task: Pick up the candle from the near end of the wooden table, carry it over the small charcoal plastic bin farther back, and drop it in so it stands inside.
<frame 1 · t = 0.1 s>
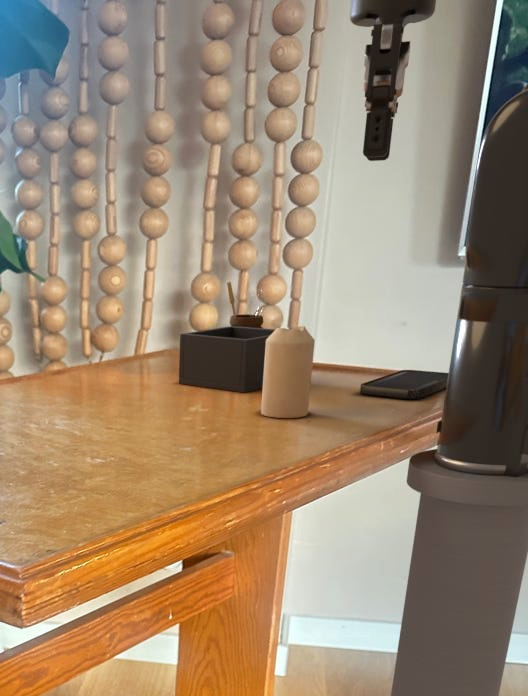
hand: (376, 158, 91), 27 cm above the table, tool pointing down, fingers open, 8 cm apart
bin: (236, 382, 131), on the table
utensil holder: (243, 363, 148), on the table
candle: (284, 415, 110), on the table
phone: (409, 389, 123), on the table
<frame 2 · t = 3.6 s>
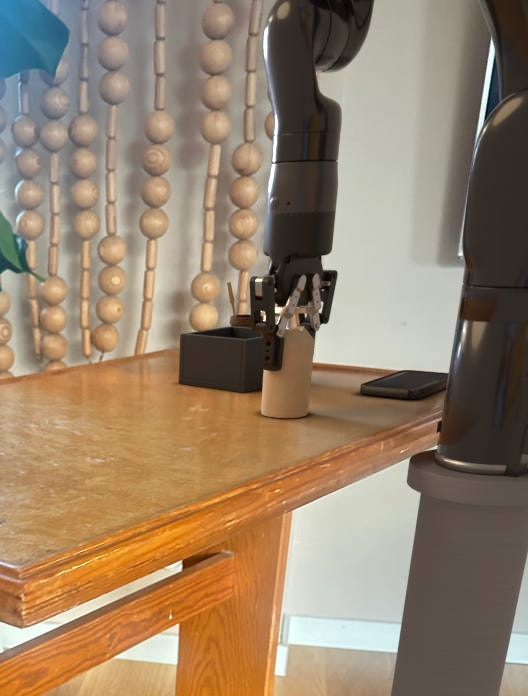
hand: (287, 366, 108), 6 cm above the table, tool pointing down, fingers closed on candle, 5 cm apart
candle: (284, 415, 110), on the table, touching gripper
everything else where it was.
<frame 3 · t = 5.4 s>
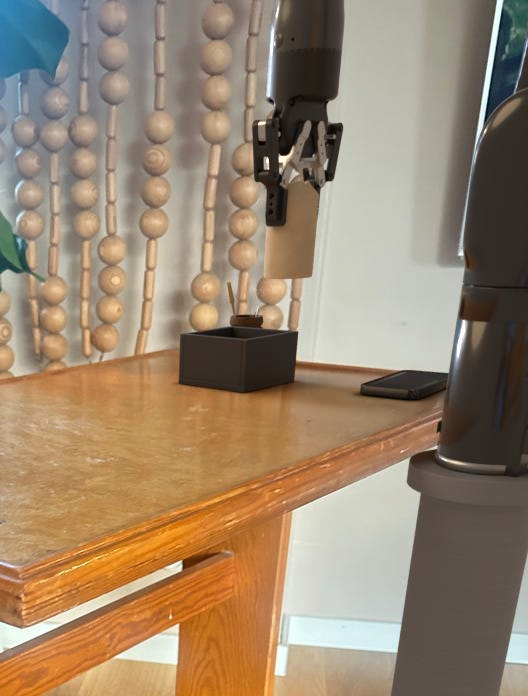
hand: (291, 225, 104), 21 cm above the table, tool pointing down, fingers closed on candle, 5 cm apart
candle: (287, 279, 106), point 15 cm above the table, touching gripper
everything else where it was.
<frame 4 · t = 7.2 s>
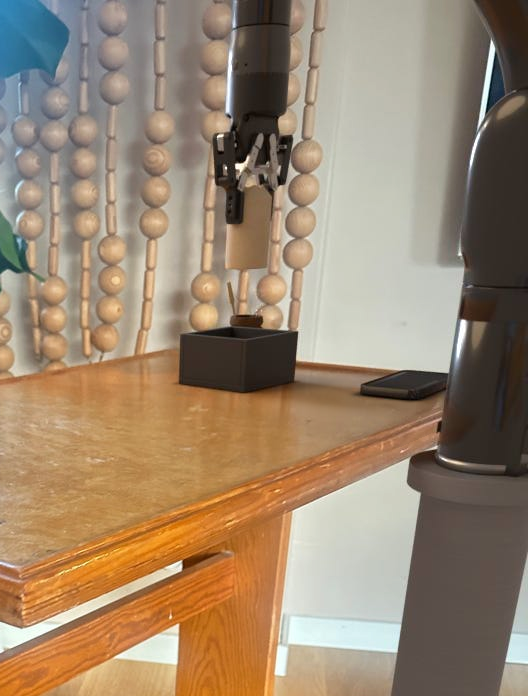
hand: (248, 223, 120), 21 cm above the table, tool pointing down, fingers closed on candle, 5 cm apart
candle: (246, 269, 123), point 15 cm above the table, touching gripper
everything else where it was.
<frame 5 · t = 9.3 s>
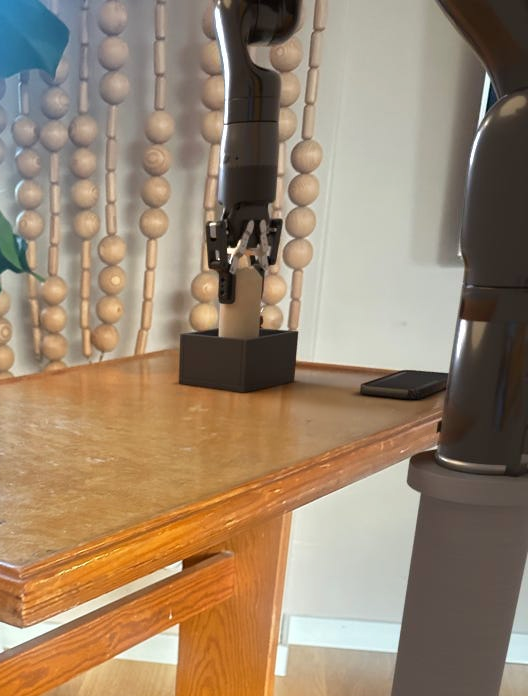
hand: (240, 301, 126), 11 cm above the table, tool pointing down, fingers closed on candle, 5 cm apart
candle: (238, 344, 129), point 5 cm above the table, touching gripper
everything else where it was.
when the fingers open (6 cm above the table, at t = 11.1 s): candle stays where it is, resting on bin.
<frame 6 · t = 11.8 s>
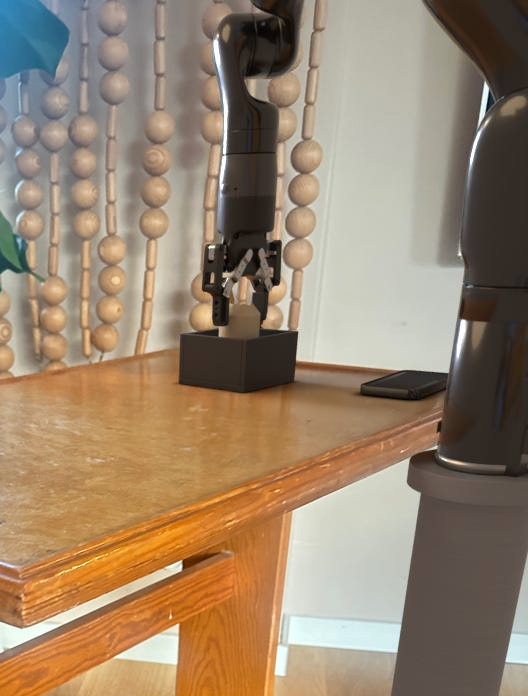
hand: (239, 323, 128), 8 cm above the table, tool pointing down, fingers open, 8 cm apart
candle: (236, 378, 131), point 1 cm above the table, touching bin
everything else where it was.
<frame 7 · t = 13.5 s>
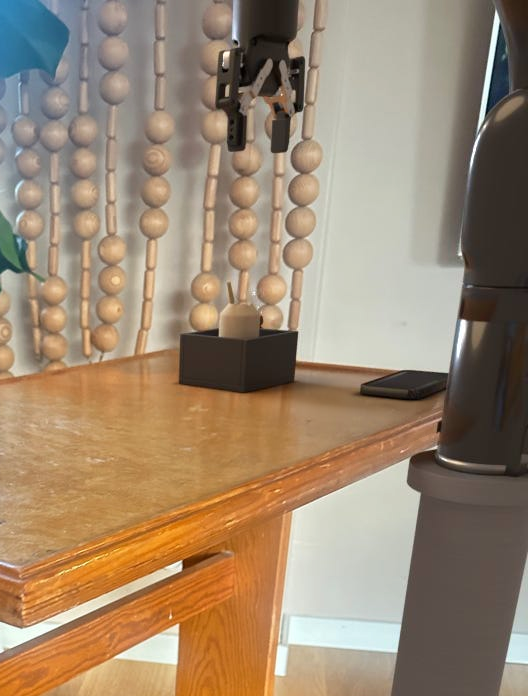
hand: (258, 152, 113), 29 cm above the table, tool pointing down, fingers open, 8 cm apart
nothing on the table moved.
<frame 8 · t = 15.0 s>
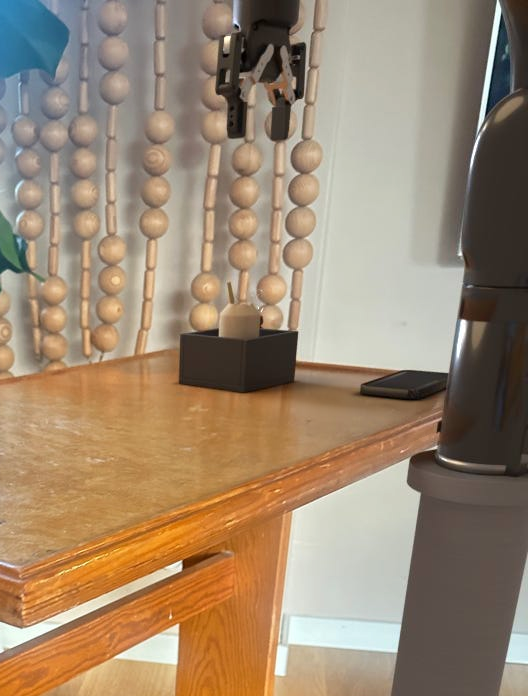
hand: (258, 139, 112), 30 cm above the table, tool pointing down, fingers open, 8 cm apart
nothing on the table moved.
at the end: candle inside the target area in the bin (0.1 cm from its centre), point 0.6 cm above the bin's base; the gripper is holding nothing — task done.
